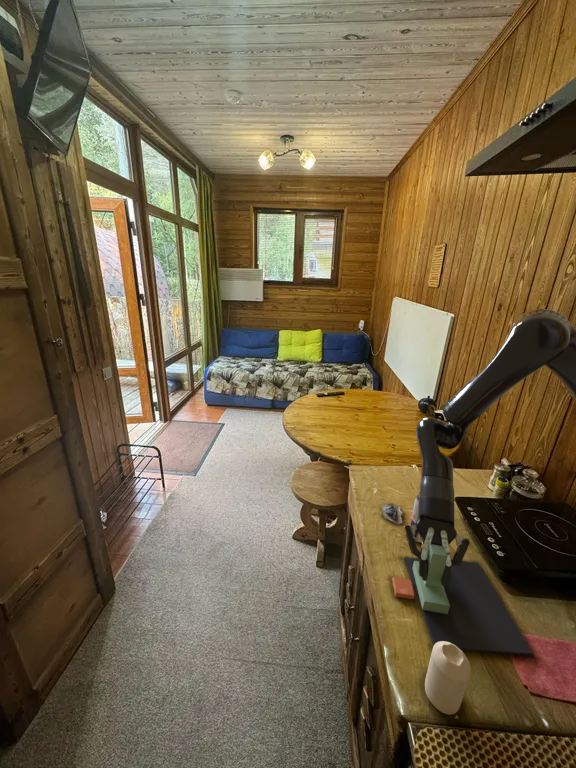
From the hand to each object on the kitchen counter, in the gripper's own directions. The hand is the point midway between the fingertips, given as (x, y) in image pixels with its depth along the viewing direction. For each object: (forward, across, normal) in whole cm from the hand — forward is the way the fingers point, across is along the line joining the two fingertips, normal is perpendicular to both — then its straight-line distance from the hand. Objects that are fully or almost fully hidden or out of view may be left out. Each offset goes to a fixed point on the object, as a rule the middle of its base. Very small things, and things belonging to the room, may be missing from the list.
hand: (434, 582), depth 65 cm
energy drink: (-10, -1, +18) cm, 20 cm away
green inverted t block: (+2, 0, +5) cm, 6 cm away
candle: (+16, 0, -7) cm, 18 cm away
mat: (+2, +6, +6) cm, 9 cm away
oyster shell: (-14, -7, +23) cm, 28 cm away
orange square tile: (+3, -6, +5) cm, 8 cm away
